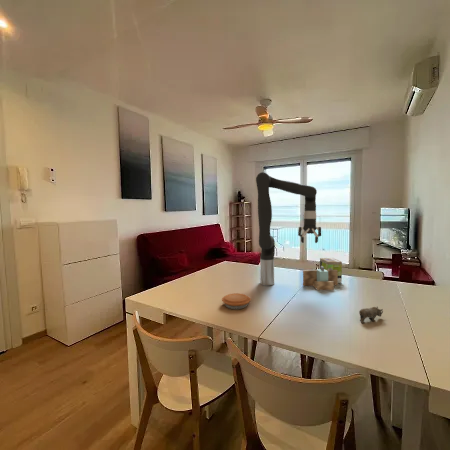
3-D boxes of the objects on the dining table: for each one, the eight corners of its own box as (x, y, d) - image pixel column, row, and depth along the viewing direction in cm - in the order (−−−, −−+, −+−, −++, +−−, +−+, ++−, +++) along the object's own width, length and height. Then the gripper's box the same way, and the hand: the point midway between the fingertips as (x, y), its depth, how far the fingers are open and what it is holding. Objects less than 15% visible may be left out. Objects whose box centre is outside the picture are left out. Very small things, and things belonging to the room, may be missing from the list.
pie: (230, 313, 125) (230, 303, 125) (217, 303, 139) (216, 294, 138) (256, 307, 132) (256, 298, 132) (241, 298, 146) (241, 290, 145)
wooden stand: (307, 290, 157) (307, 274, 157) (303, 285, 167) (303, 270, 167) (343, 289, 156) (343, 273, 156) (336, 284, 167) (336, 269, 166)
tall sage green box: (320, 284, 159) (320, 267, 158) (316, 281, 165) (316, 265, 164) (328, 284, 158) (328, 267, 158) (324, 281, 165) (324, 265, 164)
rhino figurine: (387, 319, 114) (387, 306, 113) (363, 324, 110) (364, 311, 109) (379, 316, 118) (379, 303, 117) (356, 320, 113) (356, 307, 113)
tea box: (342, 283, 170) (342, 261, 169) (327, 283, 170) (327, 261, 169) (333, 277, 185) (333, 257, 184) (319, 277, 185) (319, 257, 184)
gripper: (300, 218, 159) (299, 243, 160) (323, 218, 158) (322, 243, 160) (297, 217, 166) (296, 242, 168) (319, 217, 166) (318, 242, 167)
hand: (309, 242), depth 164 cm, fingers open, 8 cm apart
